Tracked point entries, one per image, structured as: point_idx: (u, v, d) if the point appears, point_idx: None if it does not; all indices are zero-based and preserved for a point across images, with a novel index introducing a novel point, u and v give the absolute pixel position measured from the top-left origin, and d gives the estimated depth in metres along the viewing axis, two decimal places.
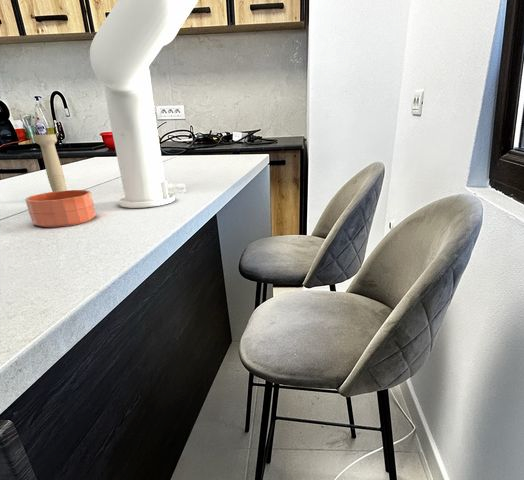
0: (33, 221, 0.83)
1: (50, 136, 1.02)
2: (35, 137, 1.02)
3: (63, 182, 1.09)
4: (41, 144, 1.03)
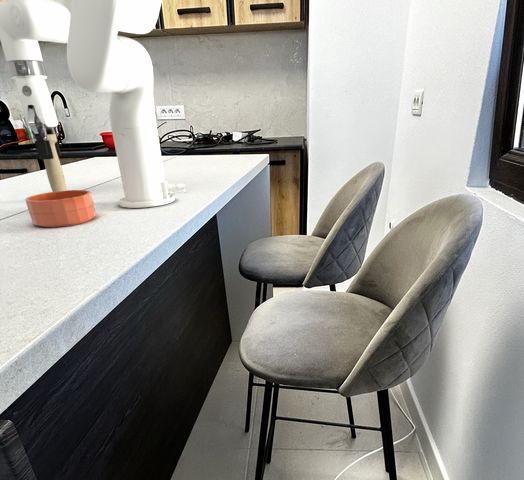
0: (33, 221, 0.83)
1: (50, 136, 1.02)
2: None
3: (63, 182, 1.09)
4: None
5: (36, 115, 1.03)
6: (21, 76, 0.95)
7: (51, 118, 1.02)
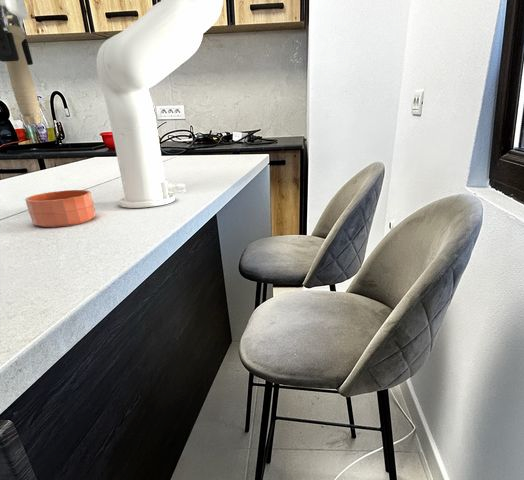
0: (33, 221, 0.83)
1: (13, 28, 0.74)
2: None
3: (34, 99, 0.80)
4: None
5: None
6: None
7: (15, 2, 0.73)
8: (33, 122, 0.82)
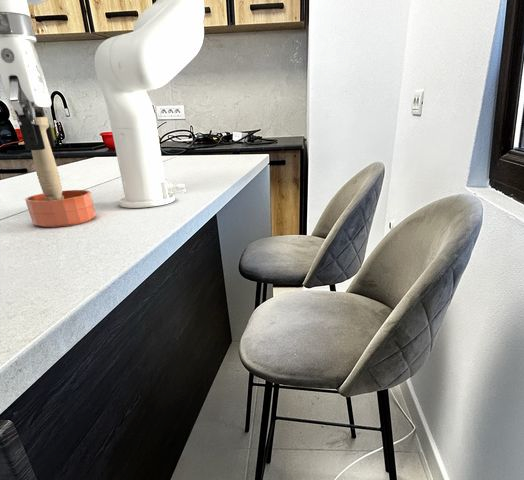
0: (33, 221, 0.83)
1: (40, 119, 0.76)
2: None
3: (57, 181, 0.83)
4: None
5: None
6: (0, 35, 0.69)
7: (42, 95, 0.76)
8: None
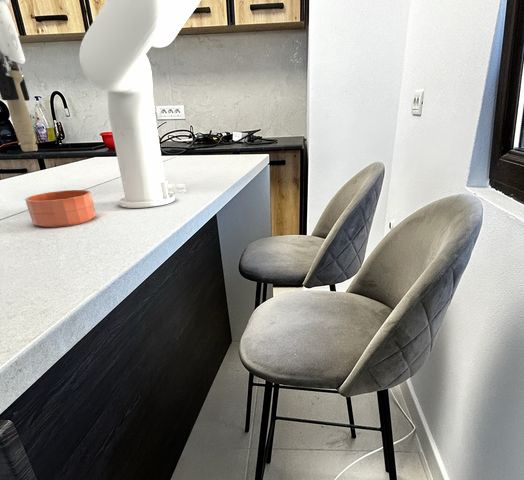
0: (33, 221, 0.83)
1: (13, 72, 0.87)
2: None
3: (31, 130, 0.94)
4: None
5: None
6: None
7: (15, 51, 0.87)
8: (30, 149, 0.95)
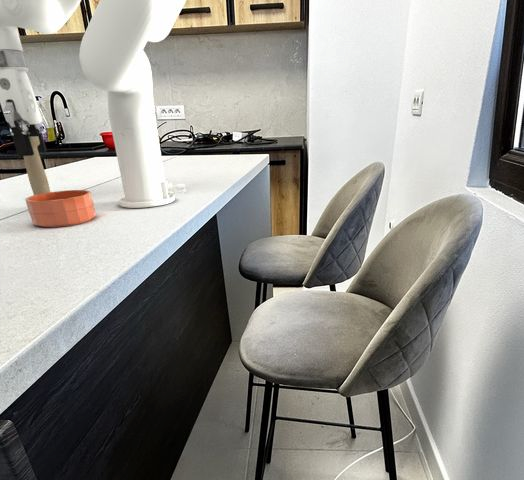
0: (33, 221, 0.83)
1: (32, 139, 0.93)
2: None
3: (47, 188, 1.00)
4: None
5: None
6: None
7: (33, 114, 0.92)
8: None
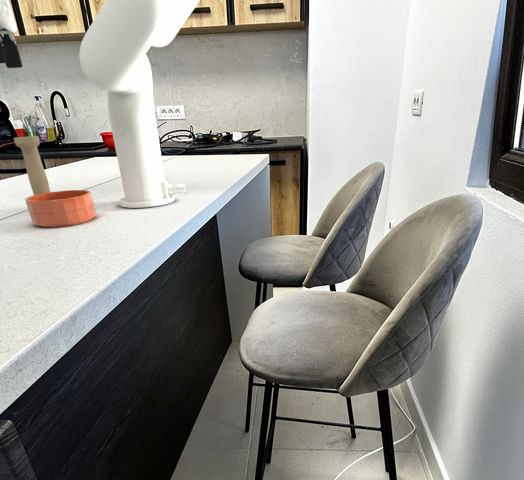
0: (33, 221, 0.83)
1: (32, 139, 0.93)
2: (15, 140, 0.93)
3: (47, 188, 1.00)
4: (22, 147, 0.94)
5: None
6: None
7: (6, 17, 0.84)
8: None
